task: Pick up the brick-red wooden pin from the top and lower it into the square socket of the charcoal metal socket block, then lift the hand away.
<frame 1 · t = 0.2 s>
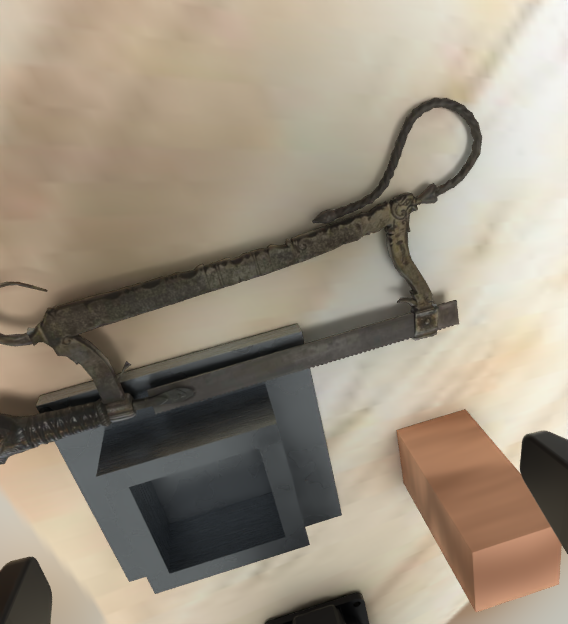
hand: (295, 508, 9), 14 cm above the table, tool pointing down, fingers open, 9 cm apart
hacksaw: (217, 279, 22), on the table, touching socket block
socket block: (207, 456, 26), on the table
pin: (433, 447, 29), on the table
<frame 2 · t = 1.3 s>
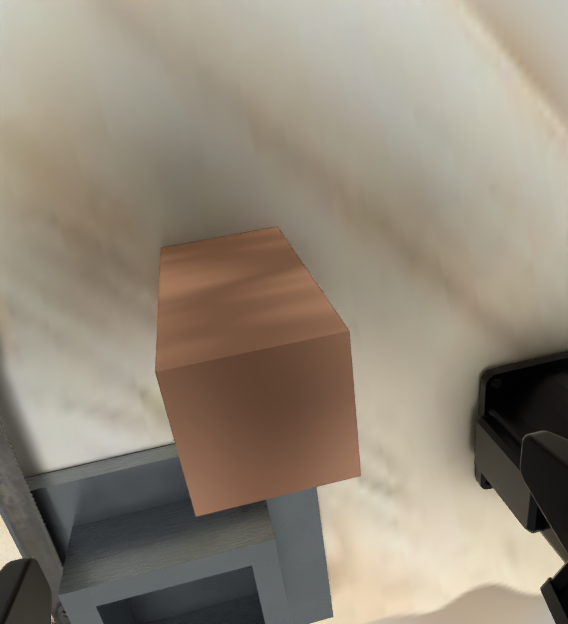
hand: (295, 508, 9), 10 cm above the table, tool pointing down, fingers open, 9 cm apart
socket block: (188, 551, 23), on the table
pin: (230, 290, 19), on the table
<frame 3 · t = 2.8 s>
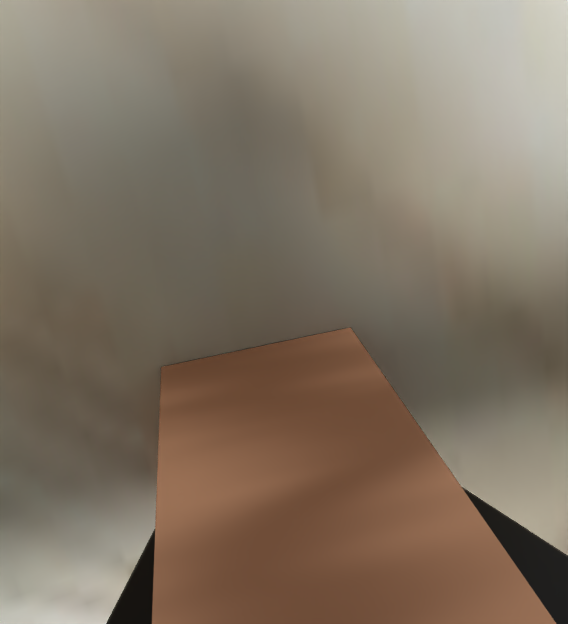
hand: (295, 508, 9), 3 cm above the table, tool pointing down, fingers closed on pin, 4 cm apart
pin: (271, 423, 12), on the table, touching gripper
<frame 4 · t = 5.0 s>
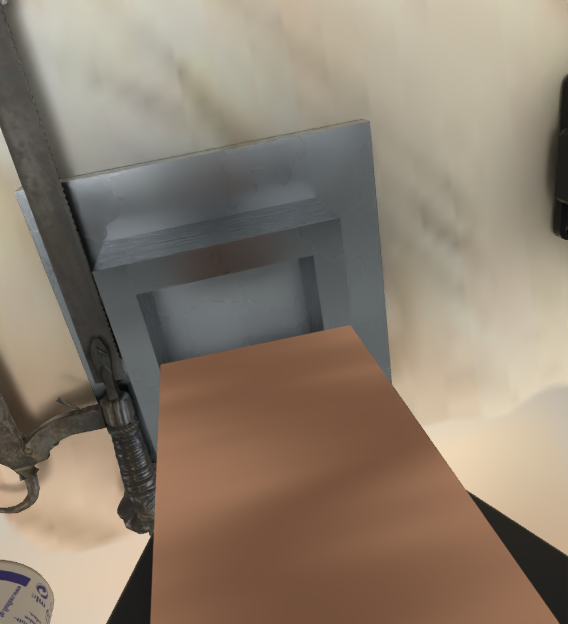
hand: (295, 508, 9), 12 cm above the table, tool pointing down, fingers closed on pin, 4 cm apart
socket block: (232, 305, 21), on the table
pin: (270, 421, 12), point 10 cm above the table, touching gripper
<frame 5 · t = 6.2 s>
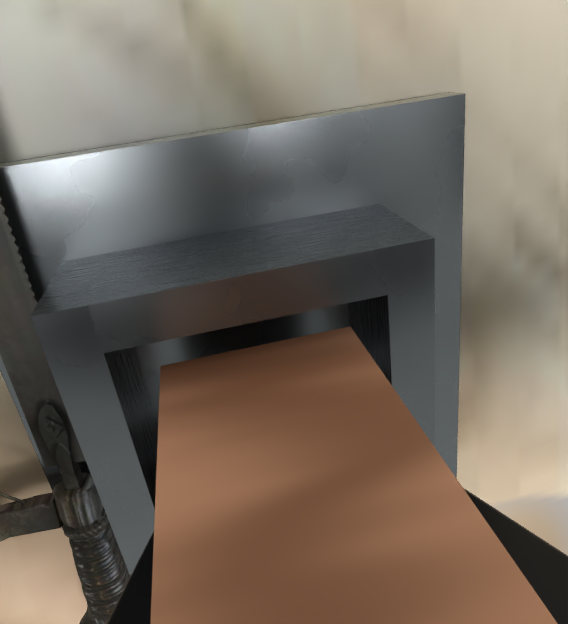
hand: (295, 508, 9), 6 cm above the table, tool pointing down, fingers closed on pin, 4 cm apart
socket block: (247, 352, 15), on the table
pin: (270, 422, 12), point 3 cm above the table, touching gripper
when the fingers open (4 cm above the table, at t = 7.2 s): pin drops 1 cm, resting on socket block.
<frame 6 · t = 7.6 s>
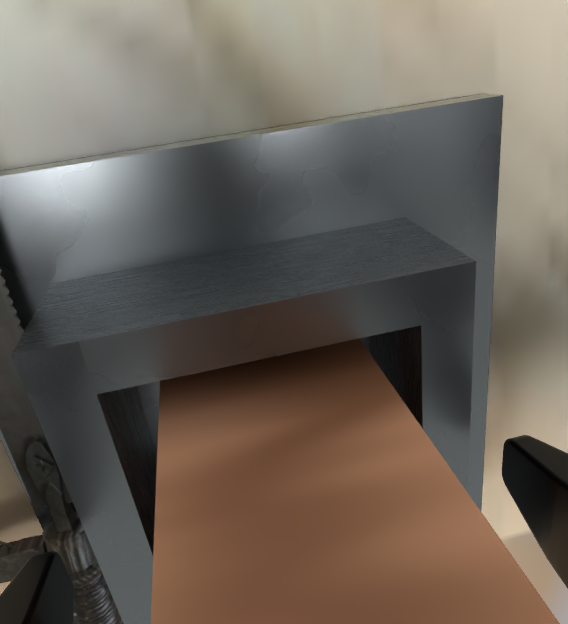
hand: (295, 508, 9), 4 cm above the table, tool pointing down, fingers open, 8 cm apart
socket block: (257, 378, 13), on the table
pin: (263, 393, 13), point 1 cm above the table, touching socket block
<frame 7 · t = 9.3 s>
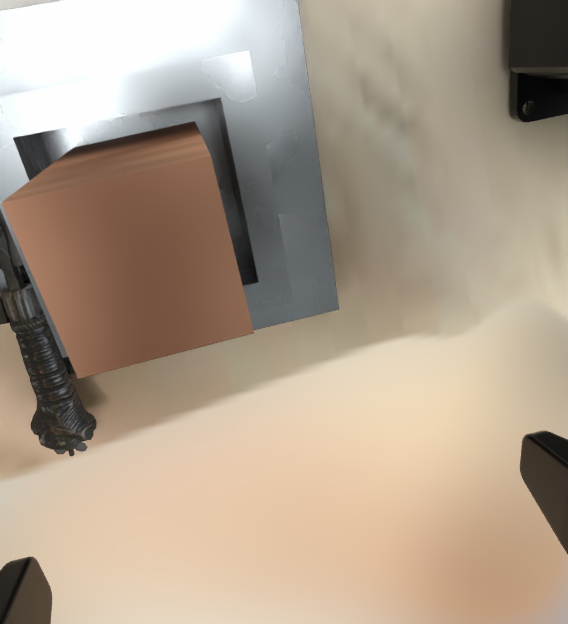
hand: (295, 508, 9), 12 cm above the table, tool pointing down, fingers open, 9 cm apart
socket block: (152, 190, 19), on the table
pin: (152, 193, 18), point 1 cm above the table, touching socket block
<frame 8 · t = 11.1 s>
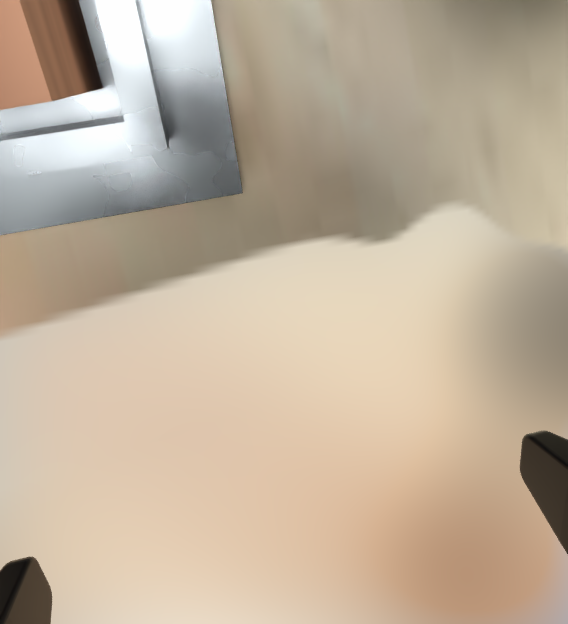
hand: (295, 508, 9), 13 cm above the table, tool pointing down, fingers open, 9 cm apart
socket block: (22, 32, 16), on the table
pin: (16, 28, 16), point 1 cm above the table, touching socket block
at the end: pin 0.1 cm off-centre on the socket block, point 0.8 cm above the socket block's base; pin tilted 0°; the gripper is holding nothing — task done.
